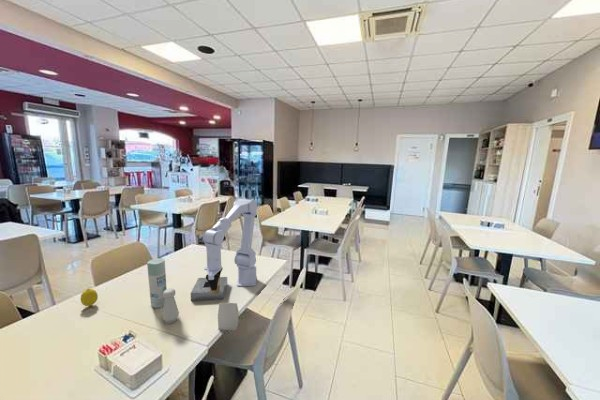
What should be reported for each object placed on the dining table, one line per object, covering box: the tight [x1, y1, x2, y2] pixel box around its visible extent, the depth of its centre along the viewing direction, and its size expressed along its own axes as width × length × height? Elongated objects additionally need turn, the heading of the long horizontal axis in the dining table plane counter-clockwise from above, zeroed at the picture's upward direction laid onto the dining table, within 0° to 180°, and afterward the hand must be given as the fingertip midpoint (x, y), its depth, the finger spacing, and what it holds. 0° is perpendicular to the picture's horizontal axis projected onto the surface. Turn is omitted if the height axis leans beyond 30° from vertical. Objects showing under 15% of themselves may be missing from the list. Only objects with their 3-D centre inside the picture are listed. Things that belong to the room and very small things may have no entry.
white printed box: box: [217, 302, 239, 331], centre depth 97 cm, size 4×7×10 cm, turn 88°
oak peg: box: [210, 274, 221, 294], centre depth 109 cm, size 4×4×7 cm
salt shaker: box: [162, 288, 180, 324], centre depth 99 cm, size 6×6×13 cm
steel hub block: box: [190, 276, 228, 302], centre depth 121 cm, size 14×14×4 cm
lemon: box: [80, 288, 99, 307], centre depth 107 cm, size 6×6×8 cm
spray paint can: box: [146, 257, 168, 309], centre depth 109 cm, size 6×6×20 cm
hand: (215, 287), depth 109 cm, fingers closed on oak peg, 4 cm apart
